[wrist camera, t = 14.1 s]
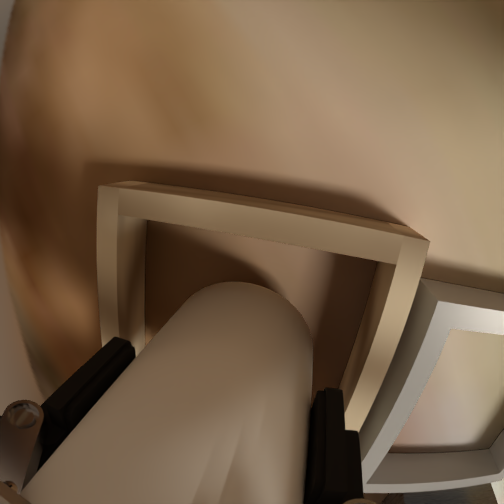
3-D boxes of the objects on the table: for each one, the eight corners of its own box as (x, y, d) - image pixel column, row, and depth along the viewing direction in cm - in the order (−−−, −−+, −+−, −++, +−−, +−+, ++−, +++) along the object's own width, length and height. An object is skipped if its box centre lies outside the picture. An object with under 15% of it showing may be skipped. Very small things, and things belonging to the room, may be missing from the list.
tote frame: (418, 277, 12) (438, 300, 10) (575, 307, 11) (598, 325, 8) (341, 460, 16) (342, 492, 13) (491, 456, 14) (501, 480, 12)
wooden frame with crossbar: (130, 180, 13) (98, 185, 11) (409, 226, 12) (430, 241, 10) (146, 482, 20) (134, 503, 18) (292, 518, 19) (288, 542, 16)
